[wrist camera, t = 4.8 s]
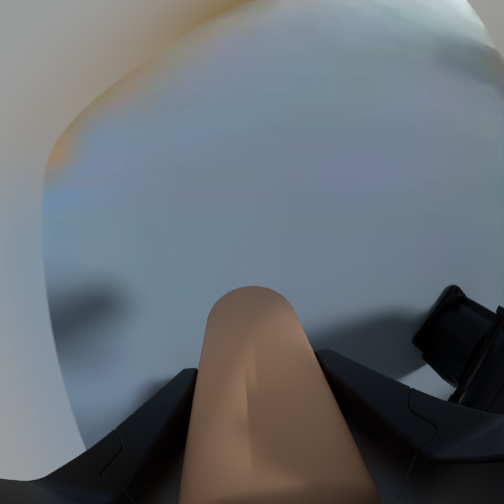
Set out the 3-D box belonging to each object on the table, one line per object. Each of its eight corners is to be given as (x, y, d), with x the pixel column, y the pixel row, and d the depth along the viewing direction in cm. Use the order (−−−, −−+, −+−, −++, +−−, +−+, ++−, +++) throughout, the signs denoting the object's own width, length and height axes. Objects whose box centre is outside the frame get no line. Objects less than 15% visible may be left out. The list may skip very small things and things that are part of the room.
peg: (243, 267, 11) (265, 457, 3) (315, 318, 11) (414, 493, 3) (189, 336, 11) (142, 530, 3) (260, 379, 12) (286, 561, 4)
